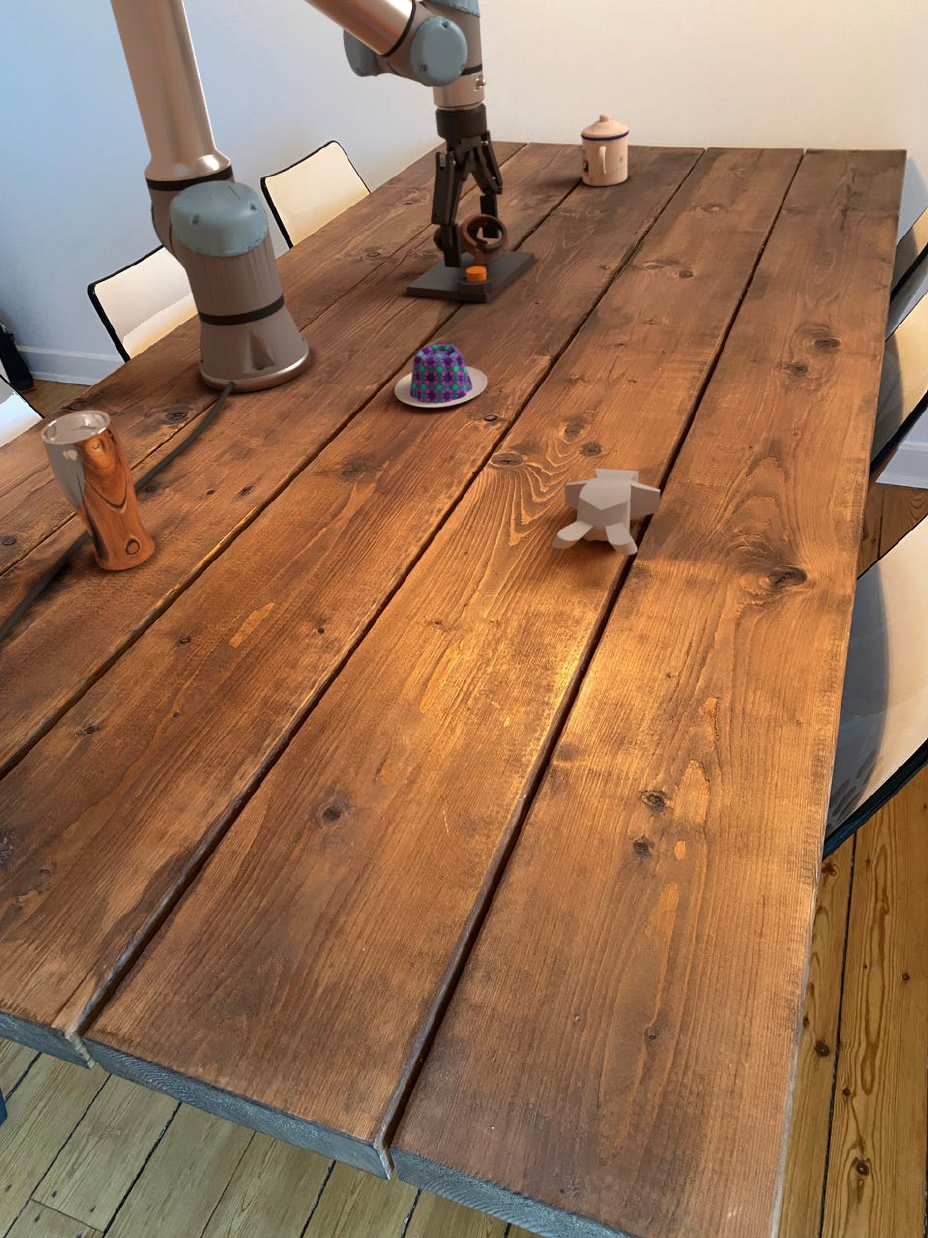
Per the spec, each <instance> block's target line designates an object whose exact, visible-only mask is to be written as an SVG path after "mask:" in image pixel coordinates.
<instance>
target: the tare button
mask: <svg viewBox="0 0 928 1238" xmlns="http://www.w3.org/2000/svg"><path fill="white" fill-rule="evenodd" d="M466 276H467V281H468V282H479V281H483V280H486V279H487V278H486V268H485V267H482V266H475V267H470V268H468V269H467V270H466Z"/></svg>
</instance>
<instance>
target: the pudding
mask: <svg viewBox="0 0 928 1238" xmlns="http://www.w3.org/2000/svg"><path fill="white" fill-rule="evenodd" d="M487 385H488V378H487V375H486V374H484V372H482V371H481V370H479V369H477V368H475V367H471V366H468V365H466V364H465V361H464V358H463V355H462V353H461V352H460V350H459V348H458V347H456V346H455V345H452V344H447V343H437V344H429V345H426V346H425V347H424V348H420V349H419V350H417V351H416V352H415V355H414V357H413V362H412V369H411V372H410V373H408V374H406V375H405V376H404V377H402V378H401V379H400V380H398V382H397V383H396V385H395V387H394V394H395V396H396V399H398V400H399V401H400V402H403V403H405V404H406V405H411V406H414V407H420V408H442V407H443V408H444V407H450V406H454V405H457V404H462V403H464V402H467V401H469V400H471V399H473V398H475V397H477V396H478V395H480V394H481V393H483V391H484V390H485V389H486V387H487Z"/></svg>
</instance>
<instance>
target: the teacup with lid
mask: <svg viewBox="0 0 928 1238" xmlns="http://www.w3.org/2000/svg"><path fill="white" fill-rule="evenodd" d="M598 119H599V120H596V121H594V122H593V123H591V125H588V126H587V127H584V128H583V129H582V130H581V133H580V137H581V145H582V149H581V150H582V182H583V183H584V184H586V185H587V186H593V187H608V186H615V185H618V184H621V183H624V182H625V181H626V180H627V179H628V151H629V150H628V143H629V142H628V141H629V140H628V139H629V137H628V136H629V133H630V130H629V128H628V126H627V125H626V124H623V123H620V122H618V121H616V120H615V119H611V115H610V113H602V114H600V115H599V118H598Z"/></svg>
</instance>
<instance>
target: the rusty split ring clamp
mask: <svg viewBox="0 0 928 1238" xmlns="http://www.w3.org/2000/svg"><path fill="white" fill-rule="evenodd" d="M486 222H487V223H489V224H491V225H492V226H494V229H496V230H499V232H500V233H501V237H500V239H499V240H498V241H496V242H494V243H489V240H488V239H485V238H481V237H478V233H479V231H480V229H482V227H484V226H485V225H486V224H487V223H486ZM458 226H459V236H460V247H461V255H462V254H464V253H466V252H468V253H470V254H471V255H473V256H474V259H473V263H472V265H471V267H475V266H482V267H484V265H486V266H487V265H489V264H491V263H493V262H495V261H496V260H498V259H500V258H501V257H502V256H504V254H505V253H504V251H508V248H509V243H510V241H509V237H508V230H507V227H506V225H505V224H504V223H503V221H502V220H501V219H500V218H498V219H497V218H496V217H493V216H491V215H486V214H481V213H475V214H472V215H469V216H468V217H466V218H465V219H464V220H463V222H462V223H461V224H460V225H458ZM432 240H433V242H434V244H435V246H436V248H437V249H438V251H440V252H442V253H443V244H442V235H441V227H440V226H439V227H438V228H437V229H436V230H435V231H434V235H433V237H432Z"/></svg>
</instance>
